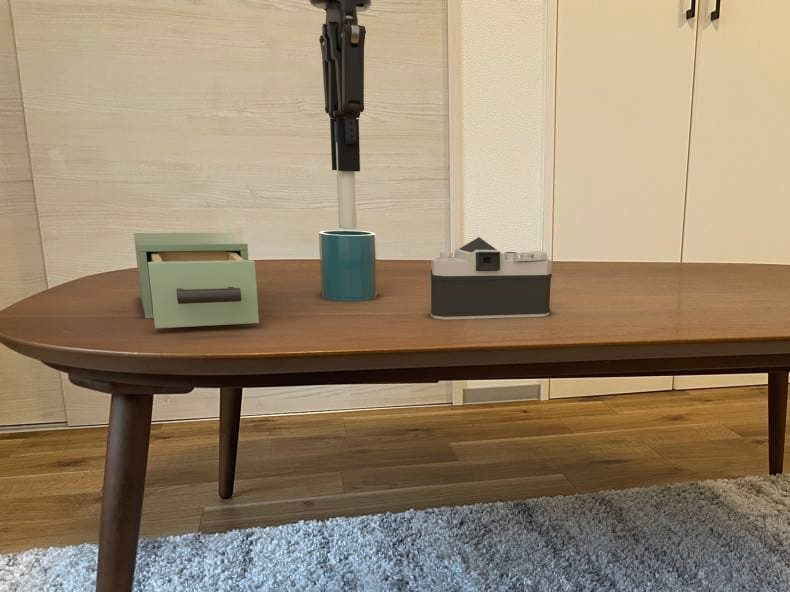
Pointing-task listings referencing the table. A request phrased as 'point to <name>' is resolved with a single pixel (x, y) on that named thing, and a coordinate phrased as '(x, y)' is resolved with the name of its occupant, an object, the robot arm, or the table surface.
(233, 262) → the drawer
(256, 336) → the table surface
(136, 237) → the cabinet
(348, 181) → the marker
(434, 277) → the camera
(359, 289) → the pen cup
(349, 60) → the robot arm
